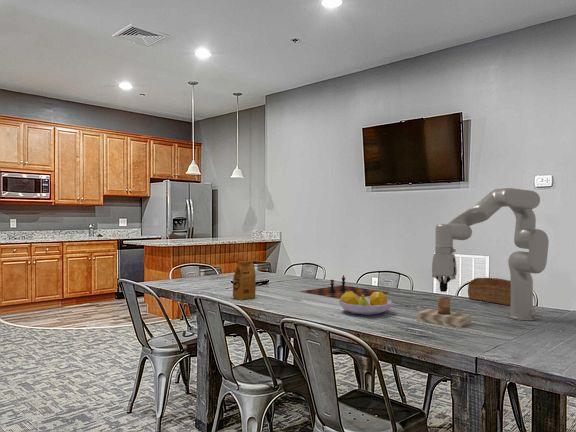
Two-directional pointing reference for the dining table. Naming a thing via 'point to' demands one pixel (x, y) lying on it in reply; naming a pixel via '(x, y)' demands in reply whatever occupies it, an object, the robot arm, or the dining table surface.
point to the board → (444, 318)
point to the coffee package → (244, 281)
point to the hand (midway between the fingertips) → (443, 291)
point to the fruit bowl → (365, 303)
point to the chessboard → (341, 290)
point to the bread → (490, 290)
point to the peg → (443, 305)
